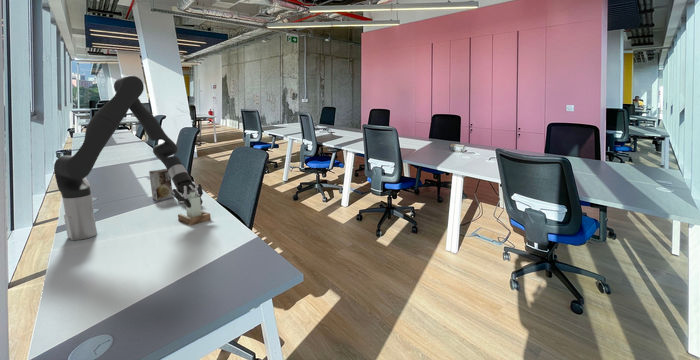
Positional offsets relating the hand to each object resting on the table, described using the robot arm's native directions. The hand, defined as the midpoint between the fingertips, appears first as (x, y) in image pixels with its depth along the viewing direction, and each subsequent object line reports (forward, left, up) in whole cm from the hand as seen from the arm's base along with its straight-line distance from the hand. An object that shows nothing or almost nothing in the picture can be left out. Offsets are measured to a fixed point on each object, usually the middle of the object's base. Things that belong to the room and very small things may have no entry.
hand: (195, 205), depth 166 cm
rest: (0, +2, -8) cm, 8 cm away
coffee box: (+9, +53, -8) cm, 54 cm away
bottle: (0, +2, -6) cm, 6 cm away
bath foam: (-25, +65, -8) cm, 70 cm away
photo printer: (+13, +33, -8) cm, 36 cm away
